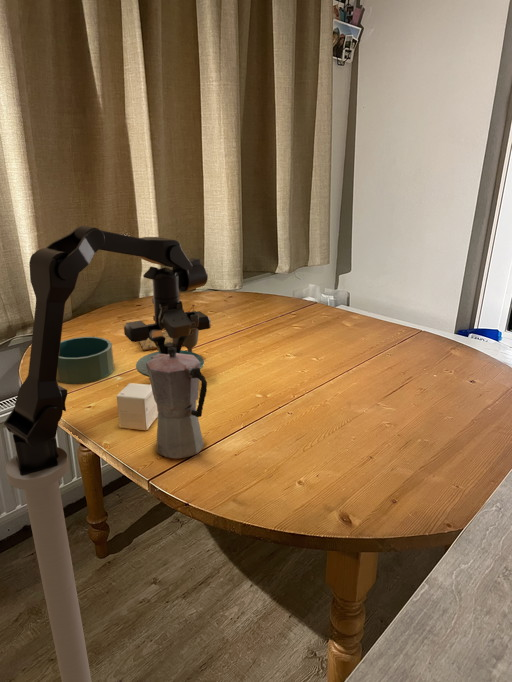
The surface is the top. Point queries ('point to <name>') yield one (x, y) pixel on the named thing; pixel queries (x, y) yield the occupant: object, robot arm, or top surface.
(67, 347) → the pot
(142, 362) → the lid
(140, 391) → the product box
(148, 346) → the cookie
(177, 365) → the moka pot
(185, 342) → the sundae
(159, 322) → the robot arm
